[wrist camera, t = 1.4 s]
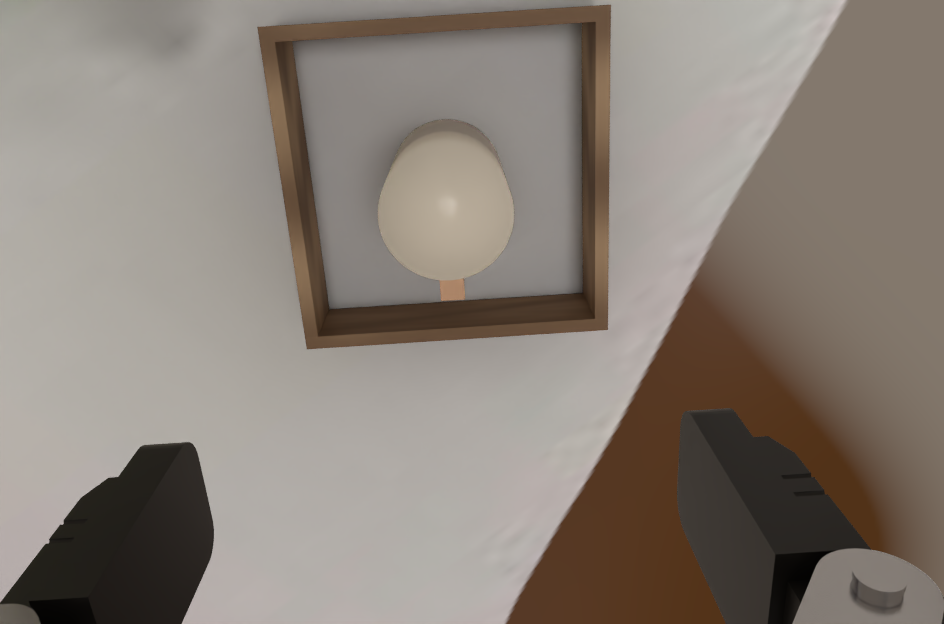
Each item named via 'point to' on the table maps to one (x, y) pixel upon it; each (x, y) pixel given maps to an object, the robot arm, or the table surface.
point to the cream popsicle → (446, 204)
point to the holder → (458, 315)
